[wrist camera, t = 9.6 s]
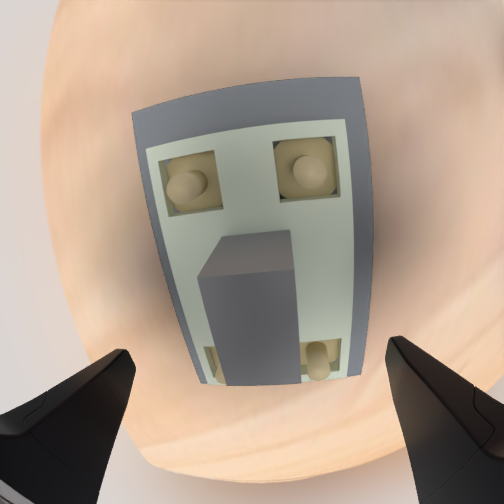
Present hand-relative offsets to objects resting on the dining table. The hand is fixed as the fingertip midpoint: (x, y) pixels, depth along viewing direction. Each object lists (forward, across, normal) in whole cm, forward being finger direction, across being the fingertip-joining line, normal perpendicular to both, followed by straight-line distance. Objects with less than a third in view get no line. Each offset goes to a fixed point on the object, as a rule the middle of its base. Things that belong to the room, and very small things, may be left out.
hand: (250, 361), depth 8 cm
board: (+6, 0, 0) cm, 6 cm away
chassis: (+8, 0, 0) cm, 8 cm away
